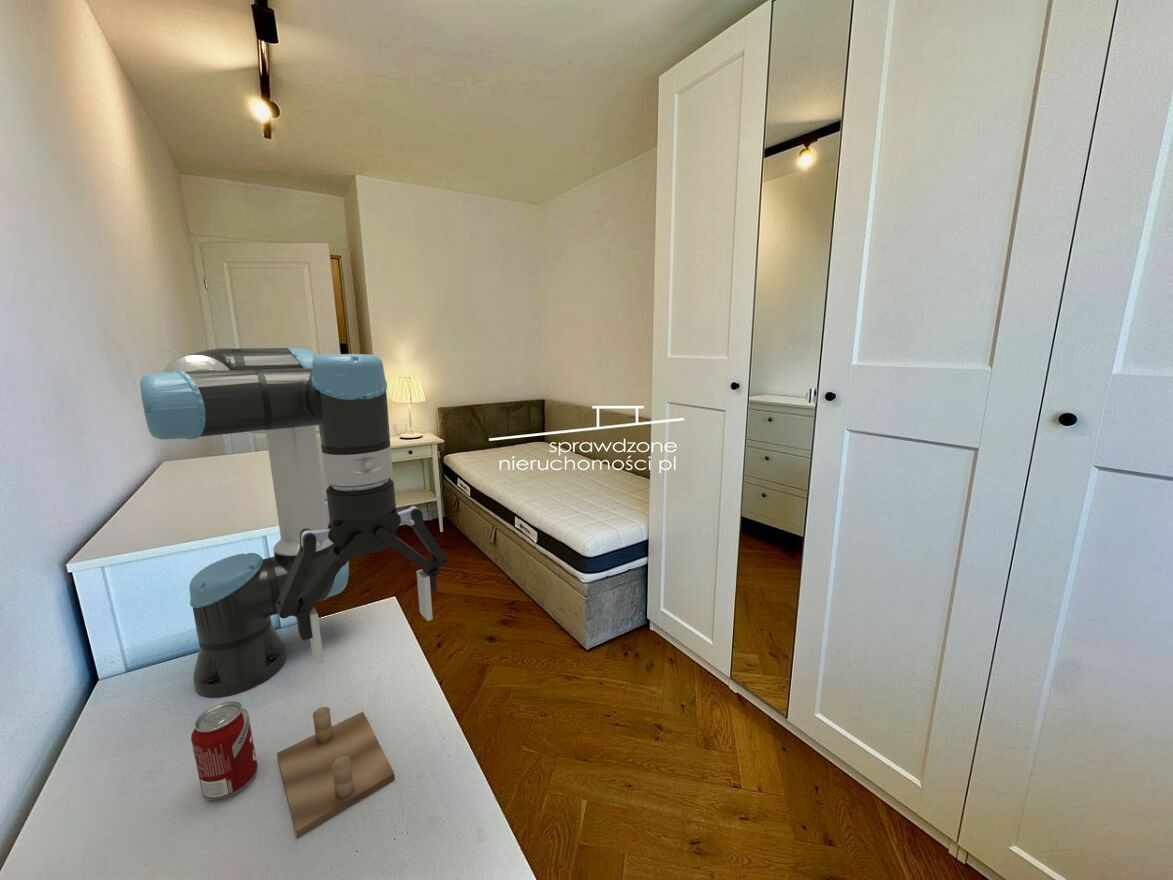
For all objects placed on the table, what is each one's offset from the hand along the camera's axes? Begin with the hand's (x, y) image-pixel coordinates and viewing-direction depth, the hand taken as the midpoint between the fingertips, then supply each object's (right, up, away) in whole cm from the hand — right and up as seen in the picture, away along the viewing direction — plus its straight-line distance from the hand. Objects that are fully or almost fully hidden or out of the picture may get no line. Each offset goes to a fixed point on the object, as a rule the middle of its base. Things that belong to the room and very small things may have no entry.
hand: (376, 635), depth 61 cm
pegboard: (-12, -26, +12) cm, 31 cm away
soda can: (-26, -27, +10) cm, 39 cm away
